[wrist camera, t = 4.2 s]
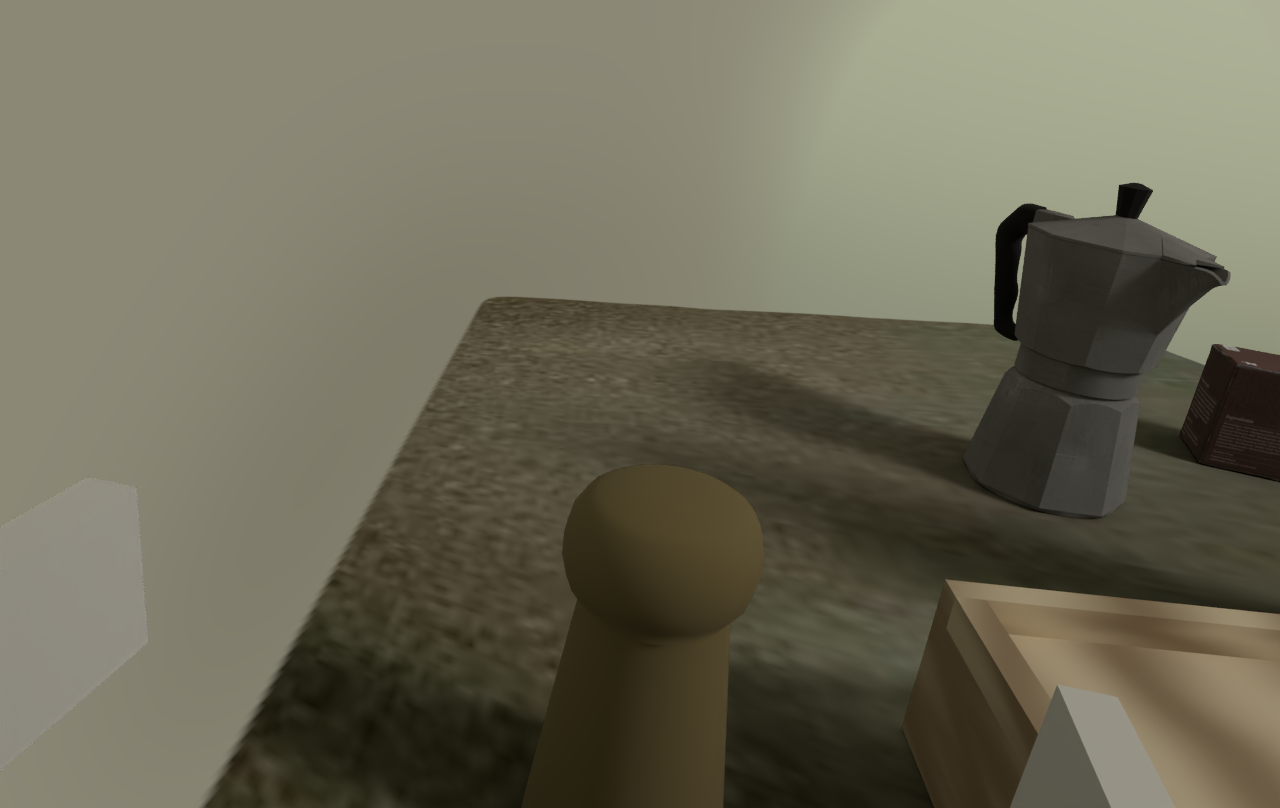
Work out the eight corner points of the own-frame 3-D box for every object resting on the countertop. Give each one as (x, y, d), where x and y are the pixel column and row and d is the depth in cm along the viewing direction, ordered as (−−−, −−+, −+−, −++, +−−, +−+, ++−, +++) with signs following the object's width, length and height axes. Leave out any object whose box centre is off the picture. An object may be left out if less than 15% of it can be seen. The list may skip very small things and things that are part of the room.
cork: (488, 872, 24) (518, 516, 20) (554, 723, 29) (588, 422, 25) (707, 934, 23) (785, 575, 19) (733, 769, 29) (797, 463, 25)
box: (1295, 487, 59) (1341, 384, 56) (1195, 464, 60) (1235, 363, 57) (1267, 454, 64) (1308, 359, 61) (1176, 434, 66) (1212, 340, 63)
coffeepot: (1189, 533, 50) (1319, 213, 43) (1061, 545, 46) (1181, 200, 40) (1001, 423, 63) (1078, 165, 56) (891, 426, 60) (959, 152, 53)
